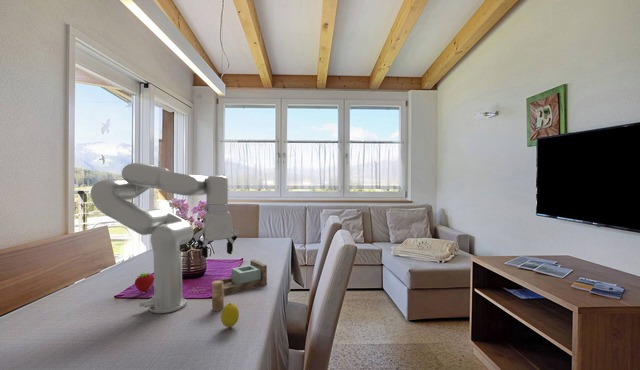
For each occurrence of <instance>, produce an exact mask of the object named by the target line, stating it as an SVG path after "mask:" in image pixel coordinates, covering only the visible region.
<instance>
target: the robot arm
mask: <svg viewBox="0 0 640 370" xmlns="http://www.w3.org/2000/svg"><path fill="white" fill-rule="evenodd" d="M121 177H122V179H121V178H120V179H119V178H109V179H101V180H99V181H97V182H95V183H94V184H93V185H92V187H91V190H90V197H91V202H93V206H95V208H96V209H97V210H98V211H99V212H100V213H102V214H103V215H105V216H107V217H109V218H111V219H113V220H115V221H116V222H118V223H120V224H121V225H123V226H124V227H127V228H128V229H130V230H132V231H133V232H135V233H137V234H139V235H142V236H147V235H150V244H151V249H152V254H153V277H154V281H153V295H151V298H148V300H141V301H139V307H140V308H141V307H144V308H148V307H149V309H148V310H149V312H151V313H153V314H167V313H171V312H172V313H173V312H175V311H178V310H181V309H183V308H185V306H186V305H187V302H188V301H187V299H186V298H184V297H183V258H182V254H181V249H180V250H179V247H178V246H179V245H180V246H181V245H184V244H187V243H188V242H191V240H192V238H193V239H194V240H195V241H196V243H197V244H198V245H200V247H201V256H202V257H203V258H205V259H207V258H208V257H209V256H208V255H209V251H208V250H209V249H208V248H209V247H208V246H207V245H208V243H210V242H212V241H221V240H227V242H226V254H228V255H232V254H233V253H232V252H233V250H234V249H233V247H234V246H233V244H234V243H235V241H236V240H237V238H238V236H239V234H240V232H241V231H239V230H238V229H236V228H234V227H233V221H232V220H233V219H232V215H231V212H230V211H229V206H228V205H229V204H228V202H229V198H228V197H229V193H228V192H229V190H228V189H229V184H228V183H229V180H228V178H227V176H225V175H210V176H208V175H199V174H198V175H197V174H186V173H180V172H174V171H170V170H169V169H168V168H166V167H162V166H157V165H156V166H155V165H153V164H150V163H140V162H132V163H128V164H126V165H125V166H124V167H123V168H122V170H121ZM149 189H155V190H160V191H162V192H165V193H169V194H175V195H180V196H186V197H193V196H203V195H204V196H206V204H205V205H204V206H202V211H205V212H204V216H203V221H202V229H200V231H199V230H198V232H197V233H195V231H194V228H193V226H192V225H191V224H190V223H189V222H188V221H186V220H185V219H183V218H181V217H180V216H178V215H176V214H174V213H172V212H170V211H169V210H166V209H164V208H163V209H162V208H155V209H154V208H153V209H145V208H143V207H141V206H139V205H137V204H135V203H134V202H132V201H130V200H134V199H135V198H138V197H139V196H141V195H142V194H144V193H145V192H146V191H148V190H149ZM194 233H195V234H194ZM233 233H234V234H233ZM201 236H202V238H203V239H202V240H201V238H200V237H201Z"/></svg>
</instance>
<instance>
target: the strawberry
mask: <svg viewBox="0 0 640 370" xmlns="http://www.w3.org/2000/svg"><path fill="white" fill-rule="evenodd" d="M134 285H135V288H136V289H137V290H138V291H140V292H141V293H142V292H146V293H147V291H148V290H149V289H150V288H151V287H152V285H154V275H152V274H151V273H150V272H147V273H140V275H137V278H136V279H135V280H134Z"/></svg>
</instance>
